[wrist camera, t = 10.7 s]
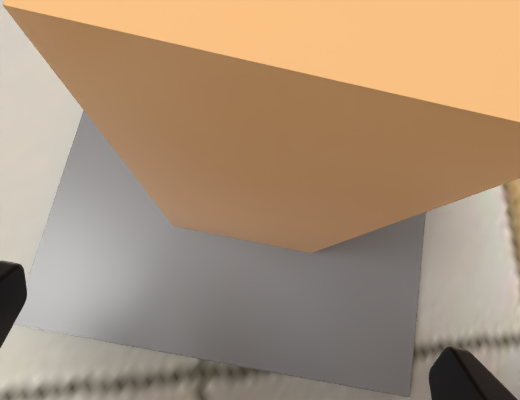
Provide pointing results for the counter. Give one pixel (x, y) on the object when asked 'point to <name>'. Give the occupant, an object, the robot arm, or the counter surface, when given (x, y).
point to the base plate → (220, 284)
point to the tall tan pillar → (294, 105)
